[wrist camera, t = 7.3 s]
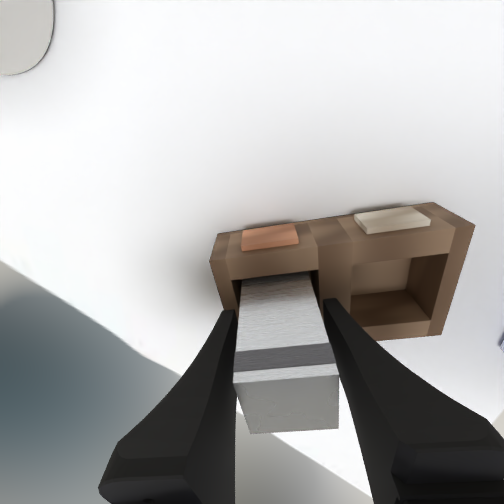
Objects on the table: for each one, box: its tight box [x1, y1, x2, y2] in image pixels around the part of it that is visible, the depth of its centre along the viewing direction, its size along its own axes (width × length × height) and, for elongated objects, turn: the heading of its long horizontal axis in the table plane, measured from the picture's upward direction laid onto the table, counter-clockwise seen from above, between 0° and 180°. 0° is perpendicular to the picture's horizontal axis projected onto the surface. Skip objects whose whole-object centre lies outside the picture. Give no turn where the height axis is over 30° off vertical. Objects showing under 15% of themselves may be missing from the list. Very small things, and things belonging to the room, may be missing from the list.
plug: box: [233, 271, 339, 434], centre depth 12 cm, size 3×4×8 cm
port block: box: [209, 202, 475, 341], centre depth 14 cm, size 12×7×3 cm, turn 100°
